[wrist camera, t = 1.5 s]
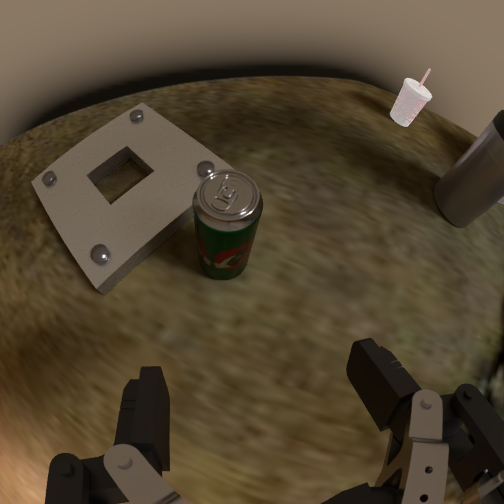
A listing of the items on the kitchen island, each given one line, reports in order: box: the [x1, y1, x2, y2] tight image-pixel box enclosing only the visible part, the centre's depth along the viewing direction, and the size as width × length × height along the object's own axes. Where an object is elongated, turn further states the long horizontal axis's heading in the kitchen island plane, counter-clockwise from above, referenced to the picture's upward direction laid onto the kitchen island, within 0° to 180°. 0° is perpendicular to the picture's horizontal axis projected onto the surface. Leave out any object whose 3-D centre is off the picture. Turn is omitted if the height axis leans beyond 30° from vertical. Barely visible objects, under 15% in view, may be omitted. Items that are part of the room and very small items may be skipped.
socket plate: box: [31, 103, 235, 295], centre depth 30 cm, size 20×20×3 cm
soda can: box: [192, 169, 263, 280], centre depth 24 cm, size 5×5×12 cm
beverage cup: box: [390, 69, 432, 127], centre depth 40 cm, size 6×6×14 cm
